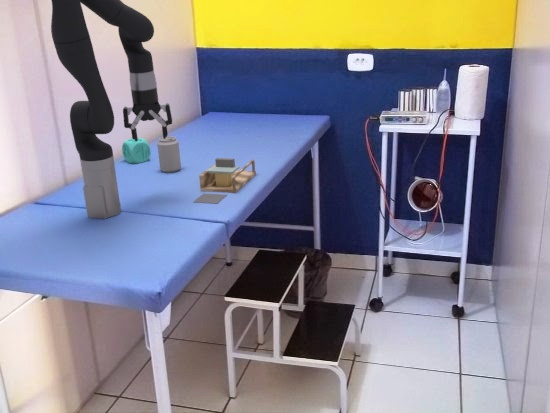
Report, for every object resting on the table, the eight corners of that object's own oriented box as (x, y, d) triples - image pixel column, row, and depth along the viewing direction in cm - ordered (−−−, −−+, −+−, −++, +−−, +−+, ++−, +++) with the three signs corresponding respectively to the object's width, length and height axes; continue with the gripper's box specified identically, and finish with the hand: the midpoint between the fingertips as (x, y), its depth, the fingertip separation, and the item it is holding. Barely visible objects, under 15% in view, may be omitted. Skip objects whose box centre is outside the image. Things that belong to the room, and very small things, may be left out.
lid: (232, 173, 190) (231, 164, 189) (206, 172, 192) (205, 163, 191) (239, 167, 196) (238, 158, 195) (214, 166, 198) (213, 157, 197)
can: (177, 173, 214) (173, 140, 210) (157, 173, 215) (153, 140, 211) (184, 167, 221) (180, 135, 217) (164, 167, 222) (161, 135, 218)
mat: (217, 205, 181) (217, 203, 180) (193, 203, 183) (192, 202, 183) (227, 196, 188) (227, 194, 188) (203, 195, 190) (203, 193, 190)
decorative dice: (132, 164, 227) (130, 144, 224) (123, 161, 233) (120, 140, 230) (151, 160, 232) (149, 140, 229) (142, 156, 238) (139, 136, 235)
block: (227, 188, 194) (226, 173, 192) (216, 188, 195) (215, 173, 193) (232, 184, 197) (231, 170, 195) (220, 184, 198) (219, 169, 197)
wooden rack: (236, 194, 190) (234, 177, 188) (200, 192, 193) (199, 175, 191) (256, 175, 207) (255, 159, 205) (223, 173, 211) (222, 158, 209)
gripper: (118, 91, 174) (126, 145, 181) (167, 87, 176) (174, 140, 182) (120, 85, 181) (127, 137, 187) (168, 82, 183) (174, 133, 189)
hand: (150, 139), depth 185 cm, fingers open, 8 cm apart
